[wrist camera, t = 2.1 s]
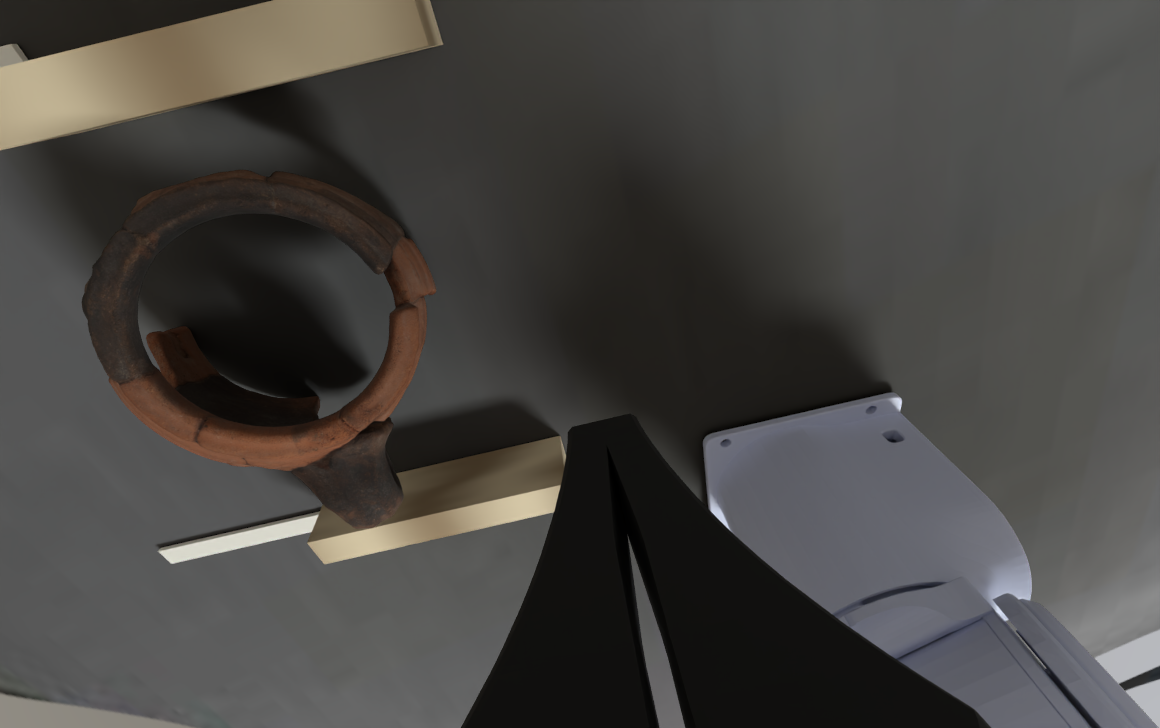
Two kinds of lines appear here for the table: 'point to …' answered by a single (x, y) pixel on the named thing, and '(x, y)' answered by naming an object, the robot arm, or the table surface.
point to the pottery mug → (233, 414)
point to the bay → (226, 540)
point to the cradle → (247, 63)
